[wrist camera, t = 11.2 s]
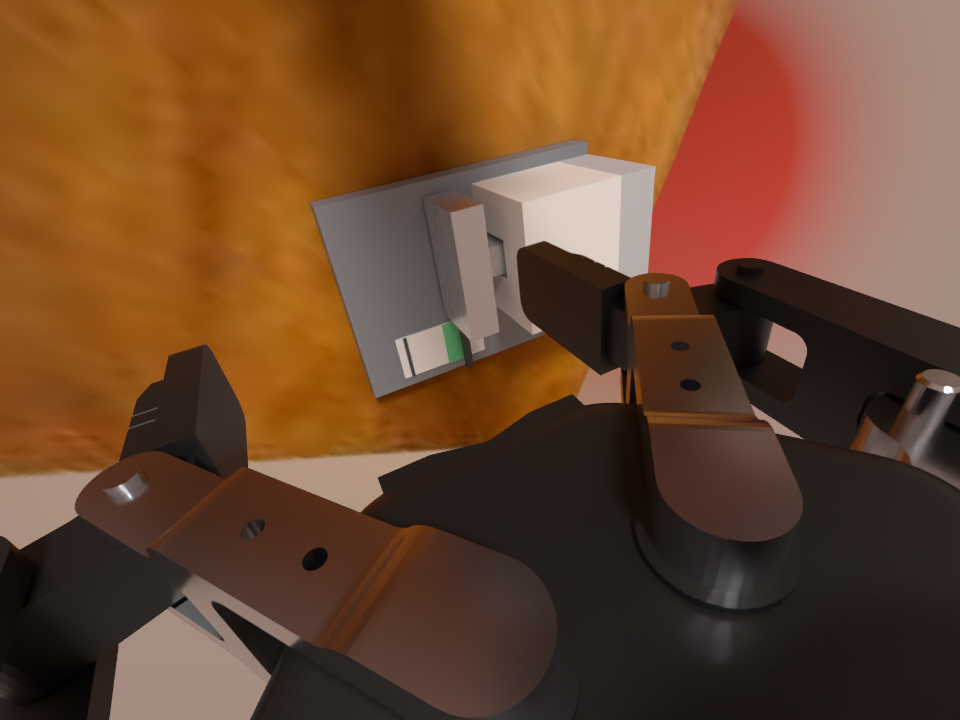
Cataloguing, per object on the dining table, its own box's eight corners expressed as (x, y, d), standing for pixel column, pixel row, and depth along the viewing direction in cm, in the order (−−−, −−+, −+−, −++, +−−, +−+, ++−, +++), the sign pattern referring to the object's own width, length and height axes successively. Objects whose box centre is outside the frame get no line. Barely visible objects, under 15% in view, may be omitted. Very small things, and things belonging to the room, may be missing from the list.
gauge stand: (309, 202, 34) (334, 236, 26) (573, 139, 40) (656, 151, 33) (370, 387, 43) (402, 452, 35) (576, 311, 50) (641, 352, 42)
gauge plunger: (422, 197, 35) (450, 212, 30) (552, 164, 38) (593, 174, 34) (455, 366, 43) (481, 397, 39) (559, 327, 46) (593, 352, 42)
